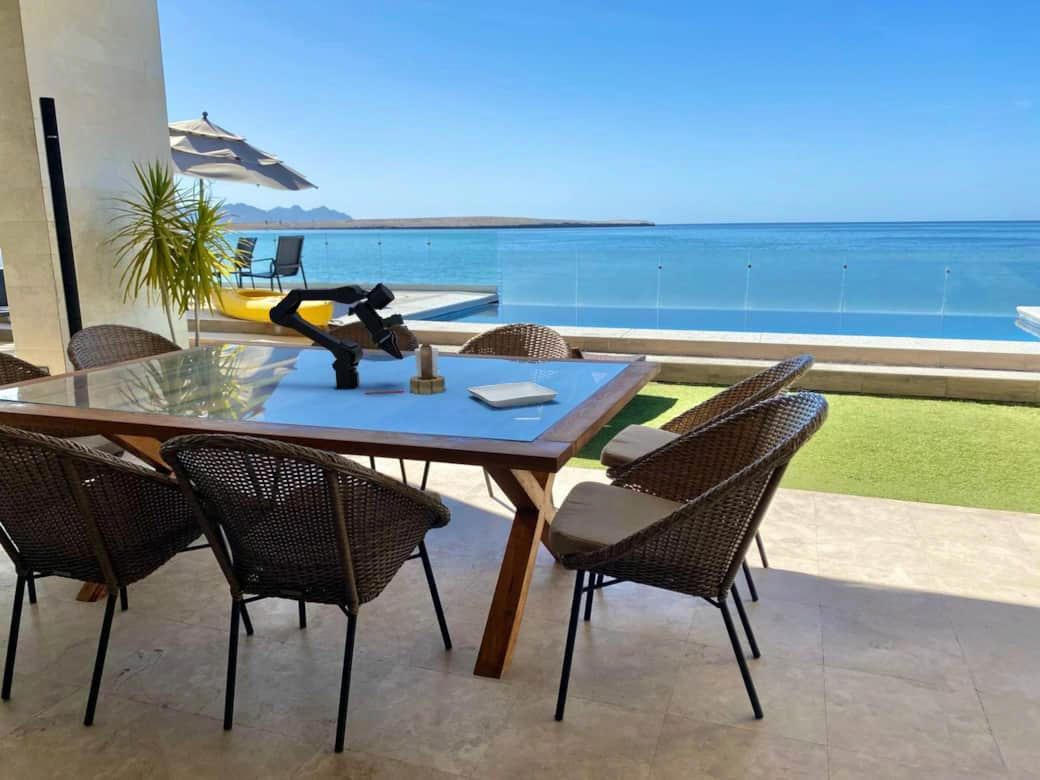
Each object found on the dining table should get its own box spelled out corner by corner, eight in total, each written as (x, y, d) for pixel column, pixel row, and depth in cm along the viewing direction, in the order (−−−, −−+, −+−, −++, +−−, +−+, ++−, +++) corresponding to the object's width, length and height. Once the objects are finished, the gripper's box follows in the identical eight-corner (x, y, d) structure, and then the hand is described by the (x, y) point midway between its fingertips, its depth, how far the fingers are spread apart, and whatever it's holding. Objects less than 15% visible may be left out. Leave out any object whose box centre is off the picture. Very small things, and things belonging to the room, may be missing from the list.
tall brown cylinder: (423, 392, 240) (421, 343, 237) (420, 390, 243) (418, 341, 240) (434, 391, 241) (433, 342, 238) (431, 389, 245) (429, 340, 241)
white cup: (435, 381, 257) (434, 351, 255) (412, 380, 259) (411, 350, 257) (442, 376, 265) (441, 347, 263) (420, 375, 266) (419, 347, 264)
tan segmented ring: (408, 394, 237) (407, 381, 237) (414, 387, 248) (413, 375, 247) (442, 394, 237) (441, 381, 236) (446, 387, 247) (445, 374, 246)
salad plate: (465, 397, 233) (465, 386, 232) (530, 391, 241) (530, 380, 241) (491, 412, 214) (491, 400, 213) (560, 404, 222) (560, 393, 222)
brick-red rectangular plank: (365, 394, 238) (364, 392, 238) (365, 393, 239) (365, 392, 239) (404, 392, 240) (404, 390, 240) (404, 391, 241) (404, 390, 241)
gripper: (387, 300, 234) (419, 342, 234) (394, 306, 252) (423, 344, 253) (358, 322, 233) (389, 364, 234) (366, 326, 252) (396, 365, 253)
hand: (400, 358), depth 243 cm, fingers open, 9 cm apart
